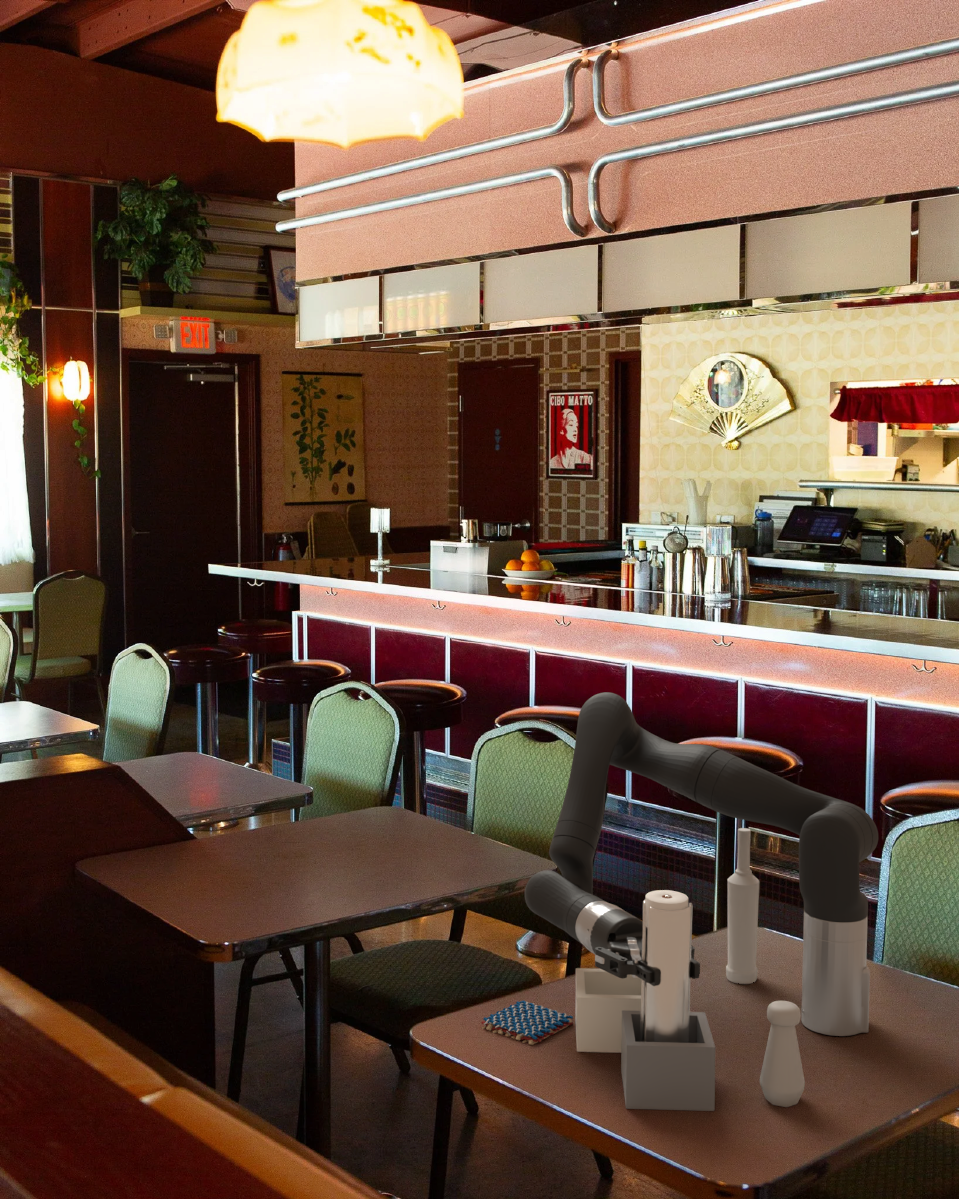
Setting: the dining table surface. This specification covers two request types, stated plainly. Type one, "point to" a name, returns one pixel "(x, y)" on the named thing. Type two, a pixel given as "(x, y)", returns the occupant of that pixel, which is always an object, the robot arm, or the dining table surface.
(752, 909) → the bottle
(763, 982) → the dining table surface
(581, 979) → the white open box
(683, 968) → the silver tall cylinder
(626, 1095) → the grey open box
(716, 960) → the dining table surface
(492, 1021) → the woven mat
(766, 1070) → the salt shaker
